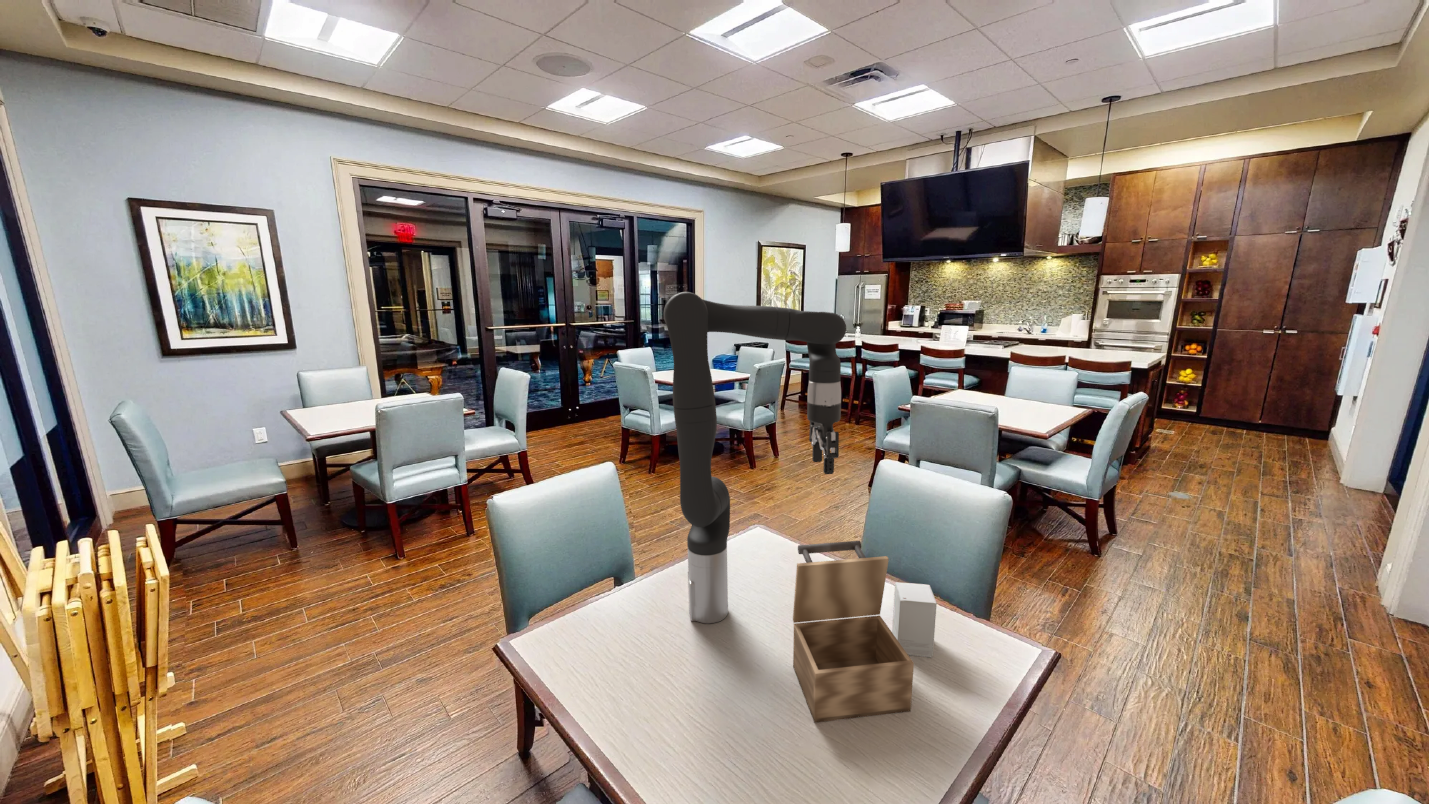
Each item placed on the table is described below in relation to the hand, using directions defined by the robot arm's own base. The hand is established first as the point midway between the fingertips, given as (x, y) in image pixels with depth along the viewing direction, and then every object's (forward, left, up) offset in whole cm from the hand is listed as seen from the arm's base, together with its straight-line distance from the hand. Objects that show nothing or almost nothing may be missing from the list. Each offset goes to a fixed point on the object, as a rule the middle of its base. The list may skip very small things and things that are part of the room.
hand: (822, 467), depth 122 cm
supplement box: (+14, -20, -34) cm, 42 cm away
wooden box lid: (-4, -24, -17) cm, 30 cm away
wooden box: (-4, -30, -34) cm, 46 cm away
